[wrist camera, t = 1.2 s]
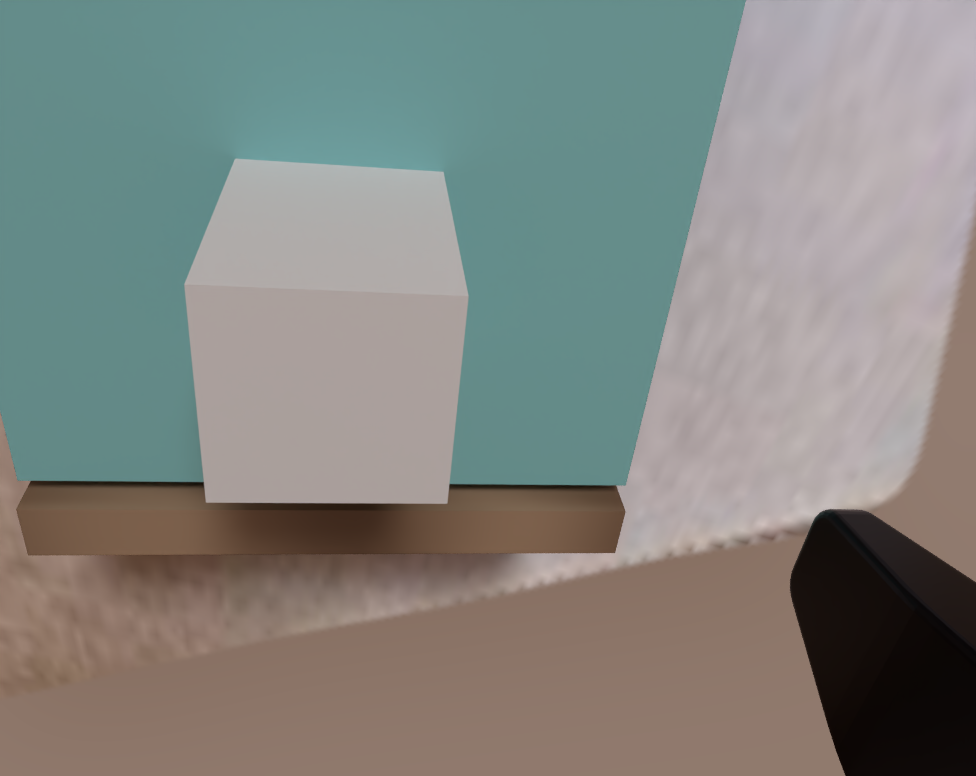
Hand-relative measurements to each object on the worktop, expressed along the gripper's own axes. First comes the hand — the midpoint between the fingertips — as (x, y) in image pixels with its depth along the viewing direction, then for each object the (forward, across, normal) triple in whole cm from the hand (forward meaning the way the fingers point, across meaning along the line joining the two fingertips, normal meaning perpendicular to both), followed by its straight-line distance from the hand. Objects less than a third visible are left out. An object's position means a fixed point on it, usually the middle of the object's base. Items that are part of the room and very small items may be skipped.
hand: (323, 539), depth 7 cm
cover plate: (+8, 0, +1) cm, 8 cm away
